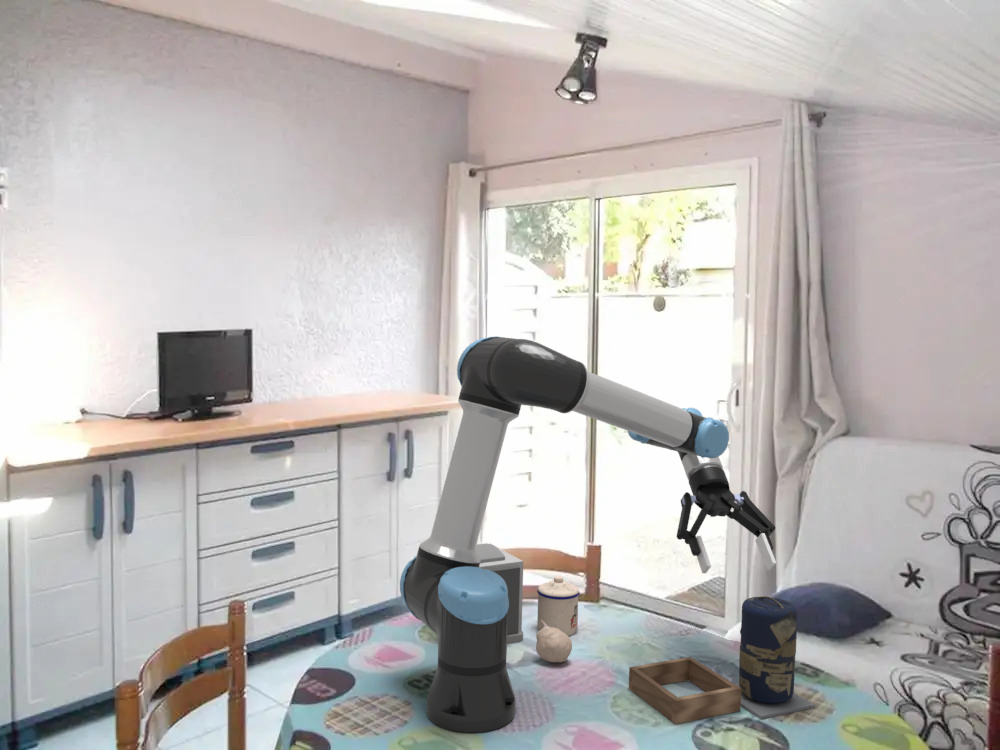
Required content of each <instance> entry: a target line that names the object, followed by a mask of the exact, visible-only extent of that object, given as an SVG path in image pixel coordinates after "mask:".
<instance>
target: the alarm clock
mask: <svg viewBox="0 0 1000 750" xmlns="http://www.w3.org/2000/svg"><path fill="white" fill-rule="evenodd" d="M476 552H477V554H478V556H479V558H480V559H481V561H480V565H479V568H481V569H482V570H485V569H487V570H490V571H493V572H495V573H496V574H498V575H499V576H501V577H502V578H503V580H504V581H505V583H506V585H507V589H508V598H509V609H508V623H507V645H512V644H517V643H522V642H524V631H523V630H522V629H523V626H522V625H523V622H522V621H523V595H524V594H523V593H524V592H523V590H524V589H523V587H524V585H523V584H524V560H523V559H520V558H518V557H516V556H514V555H513V554H510V553H509V552H508V551H505V550H504V549H501V548H500V547H498V546H497V545H494V544H492V543H491V542H490V543H487V542H486V543H479V544H476ZM521 641H522V642H521Z"/></svg>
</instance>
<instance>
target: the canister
mask: <svg viewBox="0 0 1000 750" xmlns="http://www.w3.org/2000/svg"><path fill="white" fill-rule="evenodd" d="M740 621H741V622H740V623H741V625H740V626H741V627H740V630H739V634H740V643H739V644H740V645H739V653H738V654H739V656H738V657H739V661H738V662H739V663H738V665H739V667H738V668H739V669H738V672H739V673H738V674H739V675H738V679H739V680H738V683H739V687H740V688H741V692H742V693H743V694H744V695H745V696H747V697H749V698H751V699H753V700H756V701H760V702H764V703H783V702H786V701H788V700H790V699H791V698H792V696H793V693H795V691H794V690H795V672H796V671H795V670H796V654H797V638H798V637H797V632H798V631H797V630H798V609H797V607H796V606H795V604H793V603H792V602H790V601H787V600H785V599H782V598H777V597H772V596H765V595H764V596H752V597H749V598H747V599H745V600H744V601H743V602H742V606H741V620H740Z"/></svg>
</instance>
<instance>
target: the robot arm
mask: <svg viewBox="0 0 1000 750" xmlns="http://www.w3.org/2000/svg"><path fill="white" fill-rule="evenodd" d="M456 375H457V380H458V381H459V384H460V386H461V388H460V392H459V396H458V398H457V399H458V400H457V401H458V404H459V405H460V407H461V409H462V417H461V419H460V424H459V427H458V428H459V429H458V432H457V436H456V439H455V442H454V447H453V450H452V454H451V459H450V462H449V466H448V469H447V472H446V477H445V481H444V484H443V487H442V492H441V495H440V500H439V502H438V508H437V511H436V514H435V518H434V522H433V526H432V529H431V534H430V536H429V537H428V539H426V540H424V541H422V542H421V543H419V545H418V548H417V549H418V550H417V554H416V555H415V556H414V557H413V559H411V560H409V561H408V562H407V564H406V565H405V566H404V568H403V570H402V573H401V575H400V579H399V592H400V596H401V599H402V601H403V602H402V603H404V605H405V606H406V608H407V609H408V610H409V612H410V614H412V616H414V617H415V619H416V620H418V621H420V622H422V623H424V624H425V625H426V626H427V627H428V628H429V629H431V630H432V631H433V632H434V633H436V634H437V636H438V637H437V640H438V642H437V667H436V671H435V674H434V676H433V679H432V682H431V685H430V687H429V691H428V694H427V696H426V711H425V712H426V716H427V718H428V719H429V720H430V721H431V723H433V724H435V725H436V726H438V727H441V728H443V729H447V730H449V731H450V730H451V731H453V732H454V731H455V732H461V733H482V732H483V733H484V732H488V731H493V730H497V729H500V728H502V727H504V726H506V725H508V724H509V723H510V722H511V721H513V719H514V718H515V715H516V705H517V704H516V703H517V702H516V696H515V692H514V689H513V686H512V683H511V679H510V676H509V672H508V670H507V654H508V653H507V652H508V651H507V648H508V647H507V645H508V644H507V623H508V609H509V598H508V589H507V585H506V583H505V581H504V580H503V578H502V577H501V576H499V575H498V574H496V573H495V572H493V571H490V570H487V569H485V570H482V569H481V568H479V565H480V561H481V559H480V558H479V556H478V554H477V552H476V545H477V543H478V540H479V535H480V531H481V527H482V524H483V520H484V517H485V513H486V508H487V505H488V501H489V497H490V494H491V490H492V486H493V483H494V479H495V474H496V471H497V466H498V464H499V460H500V456H501V452H502V448H503V445H504V444H503V443H504V440H505V437H506V434H507V433H506V432H507V428H508V426H509V424H510V422H512V421H514V420H516V419H517V418H519V415H520V411H521V408H522V406H529V407H536V408H543V409H546V410H552V411H555V412H558V413H560V414H570V413H571V412H575V413H578V414H580V415H583V416H586V417H589V418H592V419H594V420H597V421H600V422H602V423H606V424H608V425H610V426H614V427H616V428H619V429H621V430H625V431H627V433H628V436H629V438H631V439H632V440H633V441H636V442H638V443H641V444H644V445H645V444H646V445H650V446H654V447H656V448H657V447H658V448H662V449H667V450H670V451H673V452H677V453H678V455H679V458H680V461H681V464H682V467H683V469H684V473H685V476H686V478H687V480H688V485H689V487H690V490H691V493H692V495H691V493H690V492H685V493H684V494H683V495H682V497H681V499H680V504H681V512H680V516H679V522H678V527H677V532H676V539H677V540H681V541H682V540H684V543H685V544H687V545H688V546H689V549H690V552H691V554H692V556H693V557H696V559H697V561H698V564H699V567H700V571H701V574H707V573H708V571H709V570H710V569H711V568H712V564H711V562H710V559H709V556H708V553H707V550H706V547H705V544H704V541H703V538H702V535H698V532H699V530H700V528H701V526H702V524H703V522H704V521H705V519H706V517H707V515H708V516H710V518H714V517H726V516H727V517H728V518H729V519H731V520H732V519H733V520H734V521H736V522H737V523H738V524H740V525H741V526H742V527H744V528H745V530H747V531H749V532H750V533H751V534H753V536H755V537H757V538H756V539H755V542H756V546H757V547H758V550H759V553H760V555H761V558H762V561H763V563H764V565H765V568H766V571H771V570H772V569H773V568H774V566H775V565H776V564H777V561H776V558H775V556H774V553H773V550H774V545H773V543H772V539H771V538H770V536H771V535H772V534H773V532H775V530H776V526H775V524H773V522H772V521H770V519H769V518H768V517H767V516H766V515H765V514H764V513H763V512H762V511H761V510H760V509H759V507H757V505H755V503H754V502H753V501H752V500H751V499H750V497H749V495H748V493H747V492H746V491H745V490H741V492H740V493H735V494H734V493H733V492H732V491H731V488H730V483H729V481H728V478H727V475H726V472H725V470H724V469H723V464H722V461H721V459H720V456H722V455H723V454H724V453H725V451H726V450H727V448H728V445H729V441H730V433H729V429H728V427H727V425H726V424H725V423H724V422H723V421H721V420H719V419H715V418H713V417H709V416H708V417H705V416H703V414H702V412H701V411H700V410H699V409H697V408H695V407H688V408H686V407H682V408H681V407H679V406H677V405H673V404H671V403H669V402H666V401H663V400H661V399H659V398H656V397H653V396H652V395H651V396H650V395H648V394H646V393H643V392H641V391H638V390H636V389H633V388H631V387H629V386H626V385H623V384H621V383H618V382H616V381H613V380H611V379H608V378H605V377H603V376H600V375H599V374H596V373H593V372H590V371H588V368H587V367H586V365H585V363H583V362H581V361H578V360H576V359H574V358H572V357H569V356H567V355H565V354H564V353H561V352H558V351H557V350H554V349H553V348H550V347H548V346H546V345H545V344H541V343H540V342H537V341H534V340H531V339H526V338H525V339H523V338H512V337H511V338H510V337H503V336H488V337H483V338H479V339H476V340H475V341H473V342H472V343H470V344H469V345H468V346H467V347H465V349H464V350H463V351H462V353H461V354H460V356H459V359H458V361H457V366H456ZM694 504H695V505H696V506H697V507H698V508H699V509H701V510H700V511H699V514H698V515H697V517H696V519H695V521H694V523H693V525H692V527H691V528H690V530H688V528H689V526H688V525H689V522H690V518H691V517H690V515H691V512H692V511H691V510H692V507H693V505H694ZM732 509H733V510H732Z"/></svg>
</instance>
